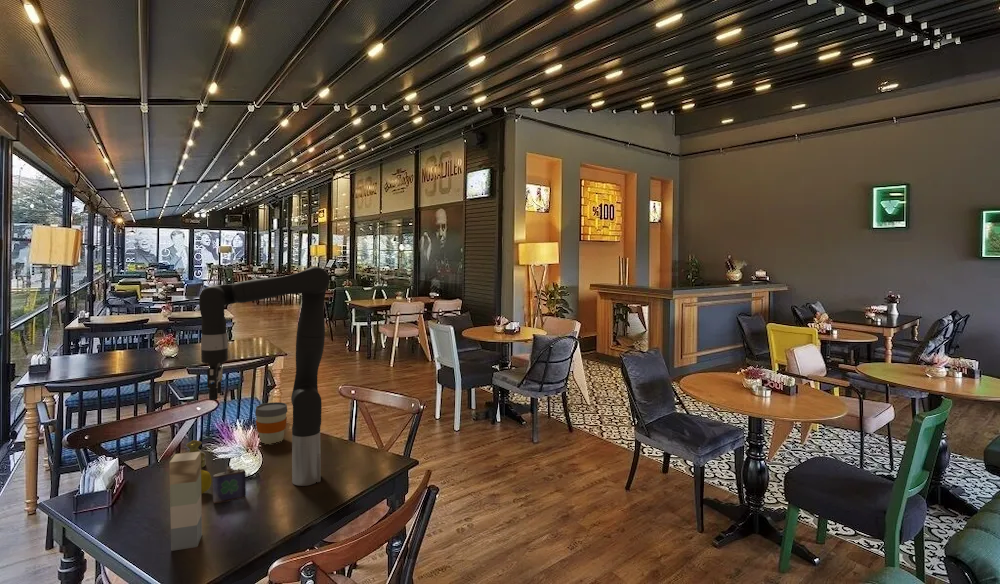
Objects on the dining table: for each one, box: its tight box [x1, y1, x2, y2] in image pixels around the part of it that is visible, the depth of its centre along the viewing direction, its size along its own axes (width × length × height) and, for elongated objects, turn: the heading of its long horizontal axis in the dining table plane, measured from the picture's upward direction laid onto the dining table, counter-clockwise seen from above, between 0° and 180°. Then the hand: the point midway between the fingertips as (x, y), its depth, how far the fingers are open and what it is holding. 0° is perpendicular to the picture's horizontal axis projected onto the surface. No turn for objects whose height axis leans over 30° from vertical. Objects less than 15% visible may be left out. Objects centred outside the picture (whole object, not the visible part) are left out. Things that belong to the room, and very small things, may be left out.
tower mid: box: [169, 494, 203, 530], centre depth 135 cm, size 6×6×6 cm
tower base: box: [170, 514, 203, 552], centre depth 135 cm, size 6×6×6 cm
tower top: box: [169, 474, 202, 508], centre depth 134 cm, size 6×6×6 cm
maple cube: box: [169, 450, 202, 486], centre depth 134 cm, size 6×6×6 cm
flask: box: [212, 465, 247, 504], centre depth 160 cm, size 9×3×11 cm, turn 121°
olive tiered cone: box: [185, 439, 207, 469], centre depth 184 cm, size 7×8×10 cm
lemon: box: [201, 469, 213, 495], centre depth 163 cm, size 6×6×8 cm
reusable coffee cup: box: [254, 401, 288, 445], centre depth 212 cm, size 13×13×15 cm
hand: (215, 396), depth 163 cm, fingers open, 8 cm apart
